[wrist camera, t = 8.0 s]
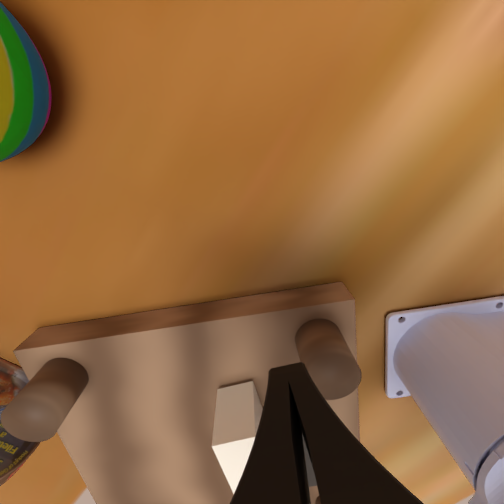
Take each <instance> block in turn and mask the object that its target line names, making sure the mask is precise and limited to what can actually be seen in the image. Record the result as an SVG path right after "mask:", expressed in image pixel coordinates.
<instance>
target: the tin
mask: <svg viewBox="0 0 504 504" xmlns="http://www.w3.org/2000/svg"><path fill="white" fill-rule="evenodd" d="M28 382H29V380H28V378H27V376H26V374H25V372H24V370H23V369H22V367H20V366H18V365H15V364H13V363H11V362H8V361H6V360H4V359H2V358H0V486H1V485H2V484H4V483H5V482H6V481H7V480H8V479H9V478H11V477H12V476H13V475H14V474H15V473H16V472H17V471H18V469H19V468H20V467H21V466H22V465H23V464H24V462H25V461H26V460H27V459H28V457H29V456H30V455H31V454H32V453H33V452H34V451H35V449H36V448H37V447H38V445H39V444H40V442H29V441H24V440H21V439H18V438H16V437H14V436H12V435H11V434H10V433H8V432H7V431H6V430H5V428H4V427H3V425H2V423H1V413H2V411H3V410H4V409H5V407H6V406H7V405H8V404H9V403H10V402H11V401H12V400H13V399H14V398H15V396H16V395H17V394H18V393H19V392H20V391H21V390H22V389H23V388H24V386H25V385H26V384H27V383H28Z"/></svg>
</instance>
